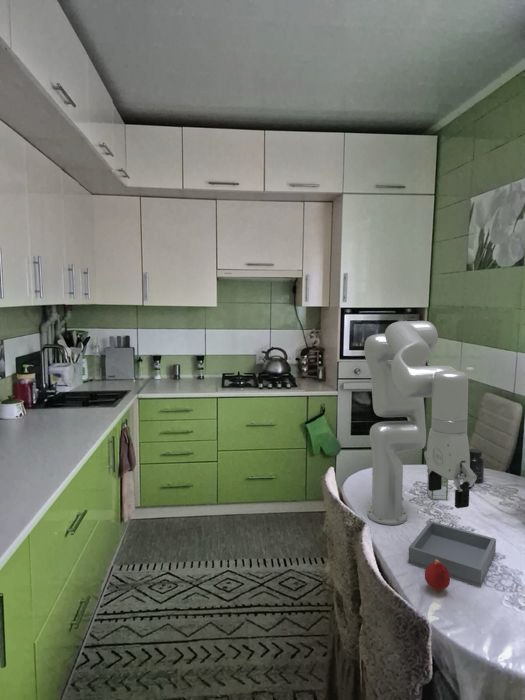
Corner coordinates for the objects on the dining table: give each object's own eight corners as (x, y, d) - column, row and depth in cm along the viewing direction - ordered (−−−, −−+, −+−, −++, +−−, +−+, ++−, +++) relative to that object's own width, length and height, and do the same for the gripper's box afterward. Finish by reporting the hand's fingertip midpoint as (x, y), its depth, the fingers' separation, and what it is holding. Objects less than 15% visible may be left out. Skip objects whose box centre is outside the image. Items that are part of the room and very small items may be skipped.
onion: (443, 582, 115) (444, 552, 114) (454, 597, 109) (454, 566, 108) (420, 583, 114) (421, 553, 114) (429, 598, 109) (430, 567, 108)
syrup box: (443, 493, 166) (444, 455, 164) (448, 500, 160) (449, 460, 158) (426, 493, 167) (427, 454, 165) (431, 500, 161) (432, 460, 159)
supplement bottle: (460, 478, 179) (461, 448, 178) (474, 475, 181) (475, 446, 180) (473, 484, 173) (474, 454, 172) (487, 482, 175) (488, 452, 174)
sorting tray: (429, 534, 138) (429, 520, 137) (495, 554, 127) (495, 538, 126) (408, 563, 123) (408, 547, 123) (480, 587, 113) (481, 570, 112)
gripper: (412, 417, 111) (412, 485, 112) (459, 437, 94) (458, 516, 96) (440, 415, 113) (438, 482, 114) (490, 434, 96) (488, 512, 98)
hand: (447, 498), depth 105 cm, fingers open, 9 cm apart
